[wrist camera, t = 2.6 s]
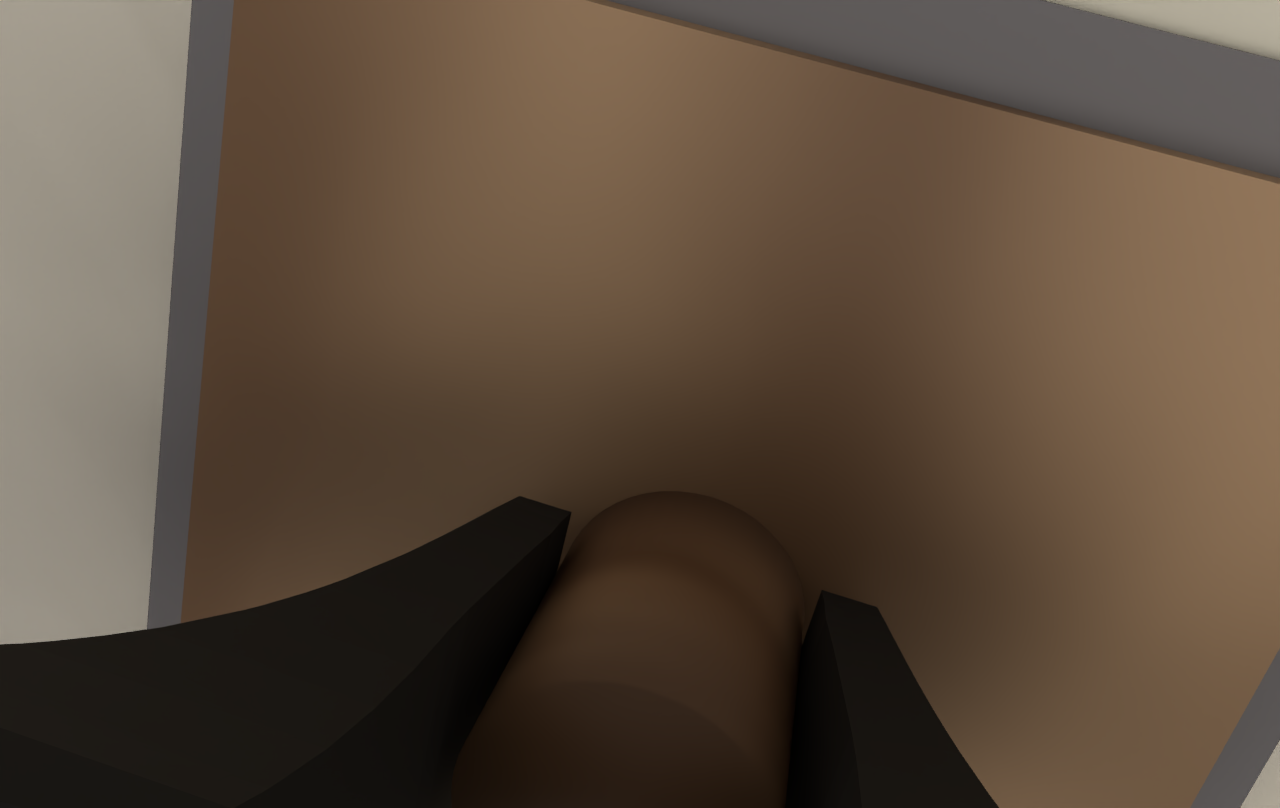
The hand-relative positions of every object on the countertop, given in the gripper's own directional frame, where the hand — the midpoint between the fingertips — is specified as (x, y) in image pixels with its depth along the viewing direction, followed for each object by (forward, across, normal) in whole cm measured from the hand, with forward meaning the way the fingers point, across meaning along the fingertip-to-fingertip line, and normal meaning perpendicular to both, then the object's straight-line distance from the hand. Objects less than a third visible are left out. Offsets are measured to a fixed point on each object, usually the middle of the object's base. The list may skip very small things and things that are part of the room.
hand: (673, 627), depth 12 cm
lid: (+1, 0, 0) cm, 1 cm away
